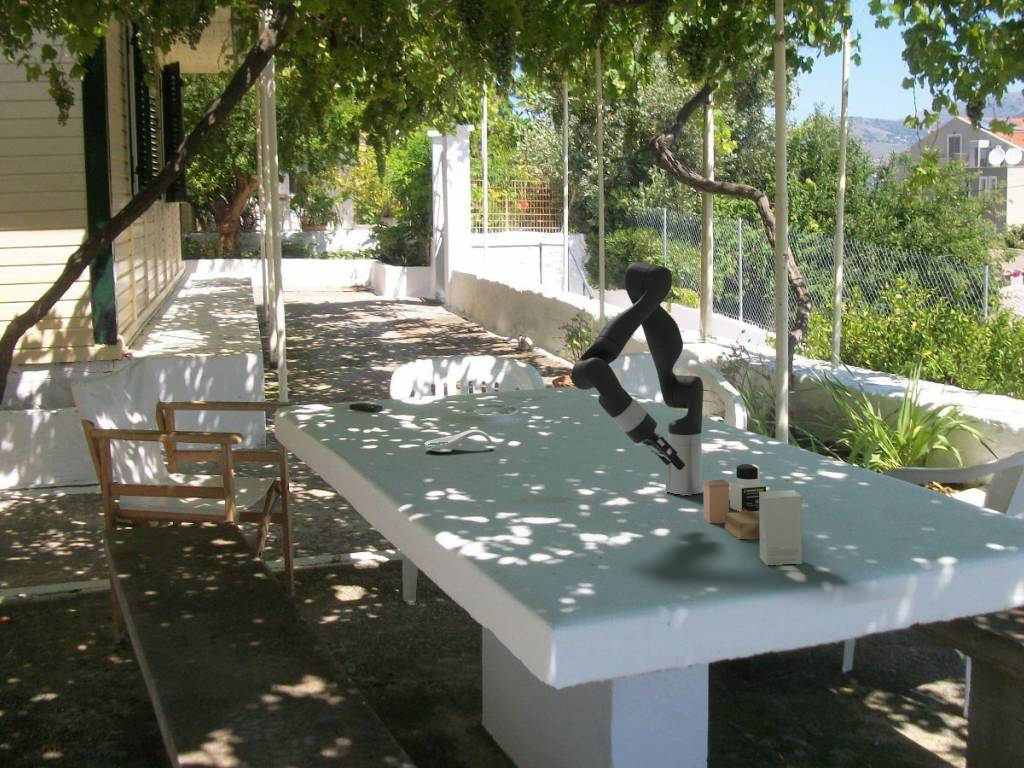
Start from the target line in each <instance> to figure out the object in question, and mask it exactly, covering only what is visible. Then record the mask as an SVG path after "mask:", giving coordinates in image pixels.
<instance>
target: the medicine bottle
mask: <svg viewBox="0 0 1024 768" xmlns="http://www.w3.org/2000/svg"><path fill="white" fill-rule="evenodd" d="M760 481H761V467H760V466H759V465H756V464H753V463H742V464H740V465H737V466H736V480H735V481H730V482H729V483H730V487H729V509H732V510H734V511H736V510H737V511H736V512H738V511H739V512H754V511H759V492H767V485H766V484H765V483H762V482H760Z"/></svg>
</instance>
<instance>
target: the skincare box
mask: <svg viewBox="0 0 1024 768" xmlns="http://www.w3.org/2000/svg"><path fill="white" fill-rule="evenodd" d="M802 500H803V496H802V495H801V494H800V493H798V492H797V491H796V490H795V489H793V490H792V489H791V490H788V489H787V490H772V491H766V492H759V515H760V539H759V559H760V561H761V562H763V564H764V563H765V564H766V565H767V566H766V565H765V564H764V565H765V566H766V567H769V566H768V565H771V566H770V567H772V565H776V566H784V565H783V564H796V565H802V564H803V549H802V548H803V542H802V541H803V538H802V537H803V536H802V535H803V533H802V529H803V528H802V527H803V526H802V525H803V523H802V518H803V517H802V511H803V510H802Z"/></svg>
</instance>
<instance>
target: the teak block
mask: <svg viewBox="0 0 1024 768" xmlns="http://www.w3.org/2000/svg"><path fill="white" fill-rule="evenodd" d="M724 530H726V531H727V532H728V533H730V534H732V536H734V537H735V536H736V537H735V538H737V539H738V538H739V539H748V540H760V515H759V511H754V512H738V511H736V512H729V513H725V523H724ZM739 539H738V540H739Z"/></svg>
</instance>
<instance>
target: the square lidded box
mask: <svg viewBox="0 0 1024 768" xmlns="http://www.w3.org/2000/svg"><path fill="white" fill-rule="evenodd" d="M702 485H703V520H704V519H705V520H704V521H706V522H707V523H708V522H709V523H708V524H723V523H724V524H725V513H730V511H729V510H730V482H728V481H726V480H725V479H723V478H722V479H707V480H706V479H705V480H704V479H703V480H702Z"/></svg>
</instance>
